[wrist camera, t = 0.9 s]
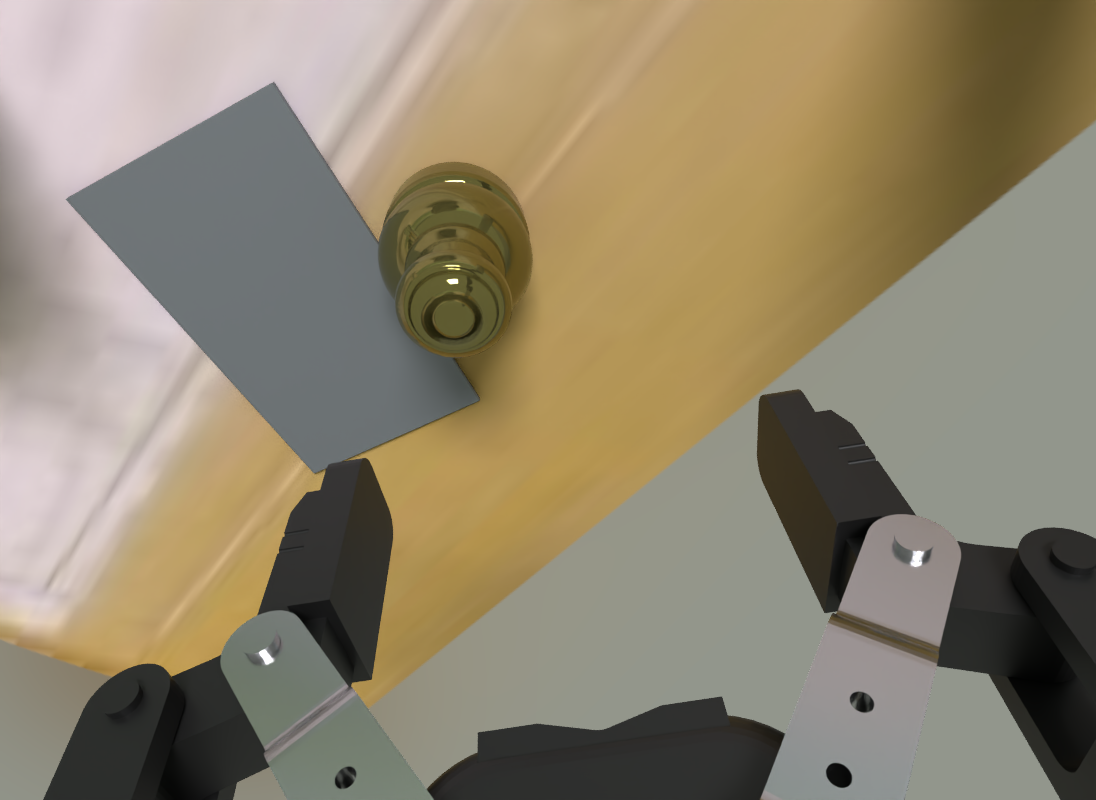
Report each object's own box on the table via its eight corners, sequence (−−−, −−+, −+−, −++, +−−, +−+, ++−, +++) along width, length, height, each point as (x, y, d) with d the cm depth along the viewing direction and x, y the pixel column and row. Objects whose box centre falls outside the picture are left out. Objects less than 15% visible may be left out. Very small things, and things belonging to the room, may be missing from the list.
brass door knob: (411, 306, 39) (395, 409, 31) (366, 176, 35) (333, 256, 27) (539, 278, 39) (557, 375, 31) (509, 144, 34) (522, 214, 26)
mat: (274, 82, 32) (272, 83, 32) (479, 397, 43) (479, 400, 43) (68, 197, 34) (65, 199, 34) (315, 470, 45) (314, 473, 45)
